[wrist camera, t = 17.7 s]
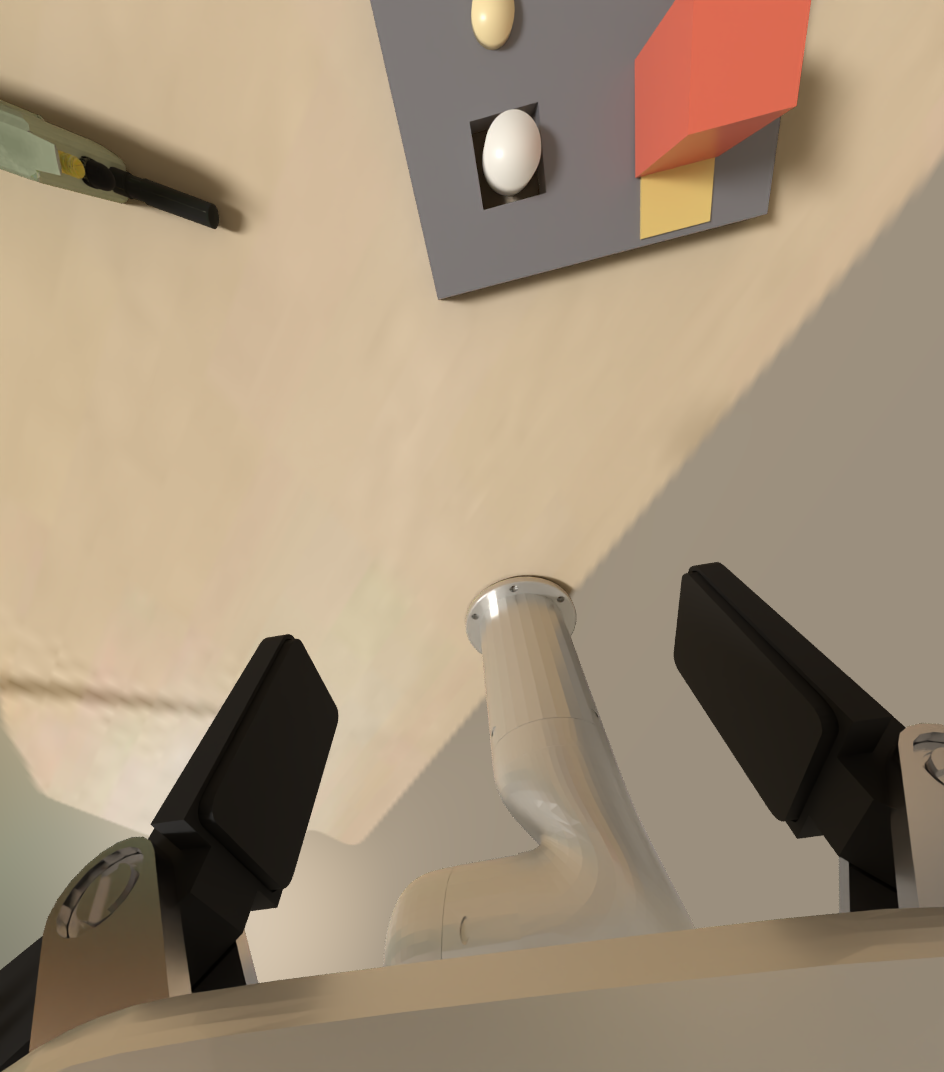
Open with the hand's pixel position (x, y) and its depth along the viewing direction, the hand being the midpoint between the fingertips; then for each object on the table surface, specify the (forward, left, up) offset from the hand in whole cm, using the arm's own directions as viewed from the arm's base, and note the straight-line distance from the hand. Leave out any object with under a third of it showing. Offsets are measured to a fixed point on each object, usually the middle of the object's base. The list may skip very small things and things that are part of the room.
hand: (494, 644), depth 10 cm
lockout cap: (+14, -16, -24) cm, 32 cm away
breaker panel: (+15, -11, -26) cm, 32 cm away
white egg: (+14, -6, -25) cm, 29 cm away
